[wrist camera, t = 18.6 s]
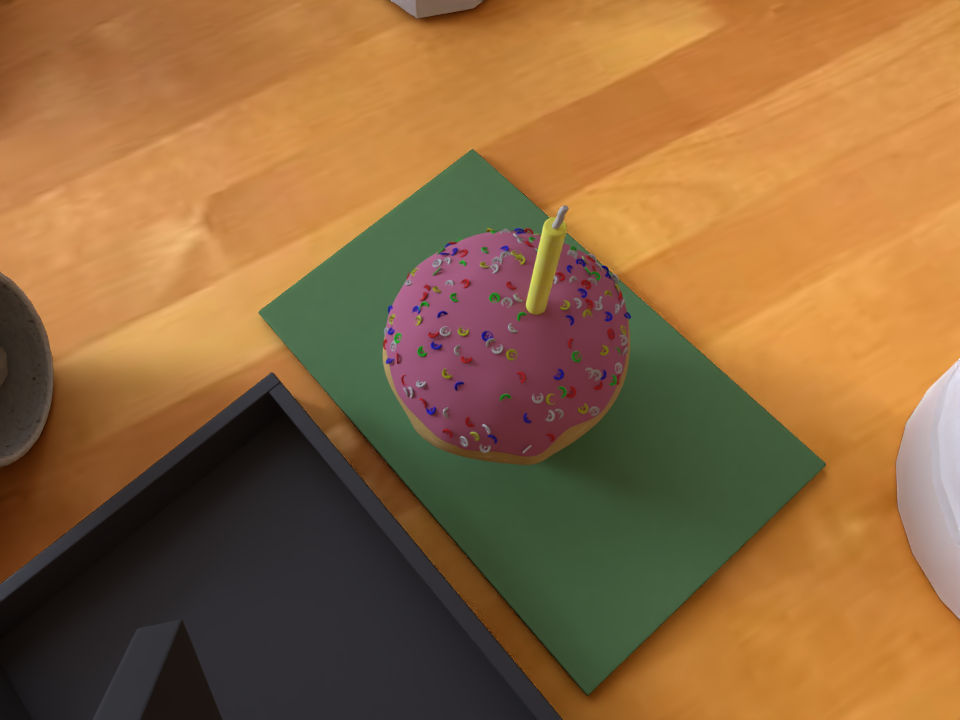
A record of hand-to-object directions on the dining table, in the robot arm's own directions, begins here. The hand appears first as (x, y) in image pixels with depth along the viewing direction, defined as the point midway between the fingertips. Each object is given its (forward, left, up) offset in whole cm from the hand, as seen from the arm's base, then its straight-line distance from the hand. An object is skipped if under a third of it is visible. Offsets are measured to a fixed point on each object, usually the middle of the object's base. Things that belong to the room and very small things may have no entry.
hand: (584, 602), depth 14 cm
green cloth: (-9, +6, -17) cm, 20 cm away
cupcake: (-9, +5, -16) cm, 19 cm away
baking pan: (-6, -9, -17) cm, 20 cm away
